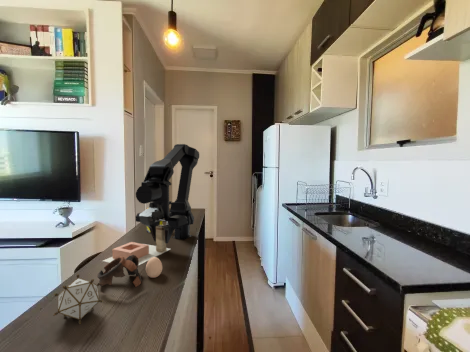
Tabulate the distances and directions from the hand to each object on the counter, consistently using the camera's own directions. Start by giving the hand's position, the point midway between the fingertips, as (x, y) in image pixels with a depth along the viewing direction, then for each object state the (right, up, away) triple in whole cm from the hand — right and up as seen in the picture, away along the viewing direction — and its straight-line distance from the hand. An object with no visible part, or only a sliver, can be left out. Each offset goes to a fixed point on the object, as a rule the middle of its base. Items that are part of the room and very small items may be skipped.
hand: (161, 242), depth 87 cm
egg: (+4, -5, -19) cm, 20 cm away
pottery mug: (-3, -5, -22) cm, 23 cm away
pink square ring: (-9, -3, -5) cm, 10 cm away
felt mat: (-7, -4, -4) cm, 8 cm away
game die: (-6, -6, -36) cm, 37 cm away
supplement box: (-11, -2, +25) cm, 28 cm away
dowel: (0, -3, 0) cm, 3 cm away
